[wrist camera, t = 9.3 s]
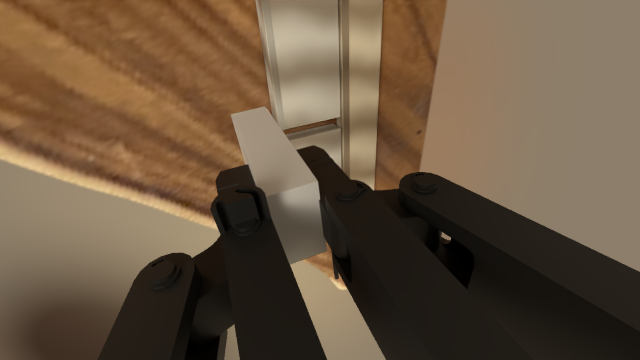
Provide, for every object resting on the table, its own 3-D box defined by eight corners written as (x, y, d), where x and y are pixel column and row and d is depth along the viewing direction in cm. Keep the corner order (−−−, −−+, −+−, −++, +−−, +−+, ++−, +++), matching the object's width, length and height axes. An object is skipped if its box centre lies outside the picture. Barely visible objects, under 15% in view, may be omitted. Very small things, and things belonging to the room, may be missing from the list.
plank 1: (255, -1, 29) (260, -2, 27) (328, -6, 32) (338, -7, 30) (274, 125, 36) (279, 130, 34) (333, 112, 38) (340, 117, 37)
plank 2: (275, 136, 37) (281, 143, 35) (333, 123, 39) (341, 128, 38) (287, 219, 43) (293, 227, 42) (336, 202, 46) (342, 209, 45)
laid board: (332, -12, 31) (340, -13, 30) (374, -15, 33) (384, -16, 31) (338, 206, 47) (344, 214, 45) (367, 198, 48) (373, 205, 47)
